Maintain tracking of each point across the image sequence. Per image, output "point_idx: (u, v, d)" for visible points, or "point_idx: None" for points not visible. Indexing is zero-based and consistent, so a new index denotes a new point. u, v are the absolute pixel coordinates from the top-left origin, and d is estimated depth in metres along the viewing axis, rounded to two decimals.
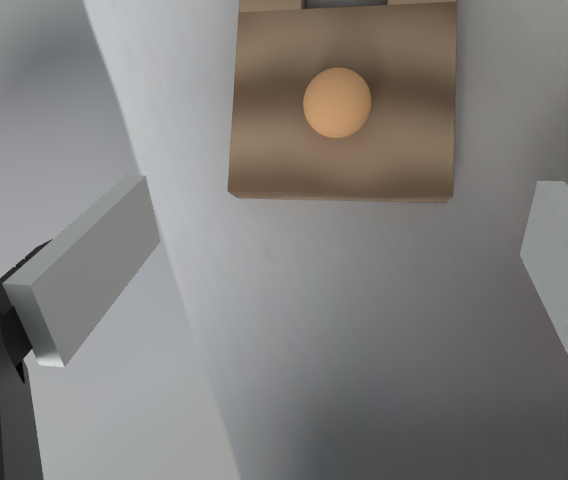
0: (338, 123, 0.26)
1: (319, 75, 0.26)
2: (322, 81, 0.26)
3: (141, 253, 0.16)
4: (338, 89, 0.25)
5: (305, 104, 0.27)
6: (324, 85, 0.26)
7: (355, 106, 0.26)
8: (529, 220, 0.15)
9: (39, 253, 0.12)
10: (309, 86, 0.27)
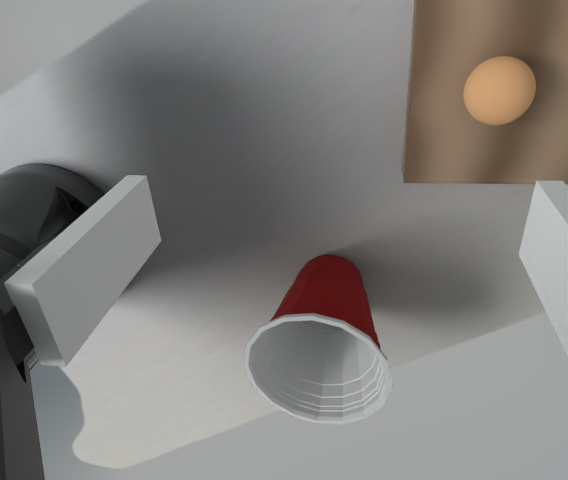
0: (473, 100, 0.28)
1: (528, 78, 0.26)
2: (519, 85, 0.26)
3: (142, 253, 0.16)
4: (506, 102, 0.27)
5: (500, 64, 0.27)
6: (514, 88, 0.26)
7: (487, 116, 0.28)
8: (528, 220, 0.15)
9: (40, 252, 0.12)
10: (519, 68, 0.26)
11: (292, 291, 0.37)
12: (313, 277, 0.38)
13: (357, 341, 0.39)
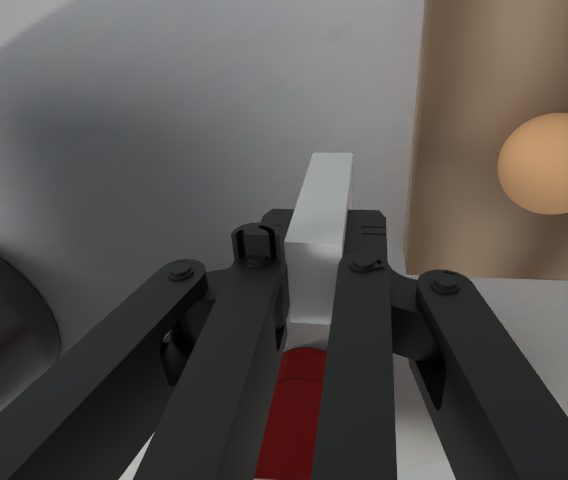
0: (516, 181, 0.18)
1: None
2: None
3: None
4: None
5: (561, 128, 0.17)
6: None
7: (537, 206, 0.18)
8: None
9: (294, 217, 0.13)
10: None
11: None
12: (284, 391, 0.28)
13: None
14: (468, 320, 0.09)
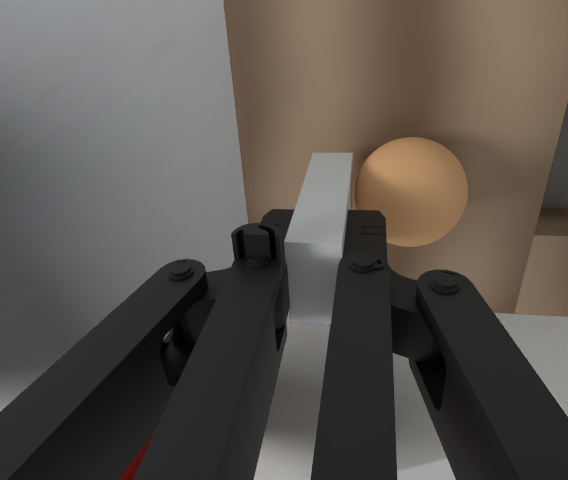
0: (407, 223, 0.16)
1: (462, 167, 0.16)
2: (464, 182, 0.16)
3: None
4: (456, 213, 0.16)
5: (428, 155, 0.15)
6: (462, 189, 0.16)
7: (427, 240, 0.16)
8: None
9: (294, 217, 0.13)
10: (450, 155, 0.16)
11: None
12: None
13: None
14: (468, 320, 0.09)
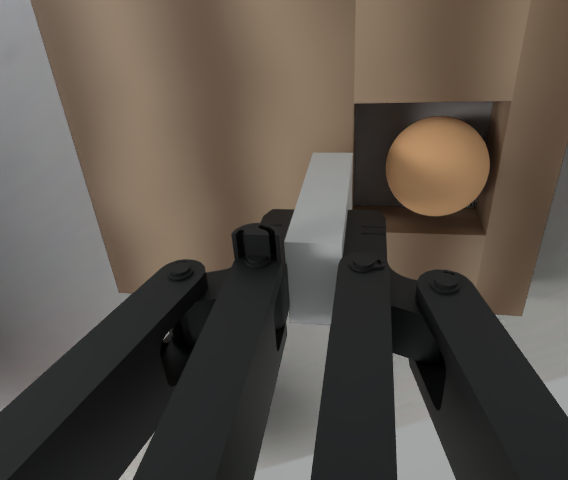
0: None
1: (449, 160, 0.17)
2: (429, 167, 0.17)
3: None
4: (410, 187, 0.18)
5: (420, 128, 0.18)
6: (420, 169, 0.17)
7: (398, 199, 0.19)
8: None
9: (294, 217, 0.13)
10: (440, 140, 0.17)
11: None
12: None
13: None
14: (469, 320, 0.09)
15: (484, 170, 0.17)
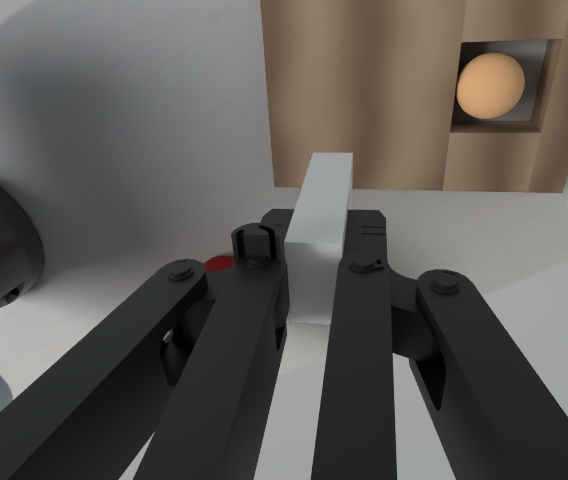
0: None
1: (481, 76, 0.28)
2: (469, 79, 0.28)
3: None
4: (459, 92, 0.29)
5: (477, 57, 0.29)
6: (465, 80, 0.29)
7: (459, 103, 0.30)
8: None
9: (294, 217, 0.13)
10: (481, 64, 0.28)
11: None
12: None
13: None
14: (468, 320, 0.09)
15: (507, 87, 0.27)
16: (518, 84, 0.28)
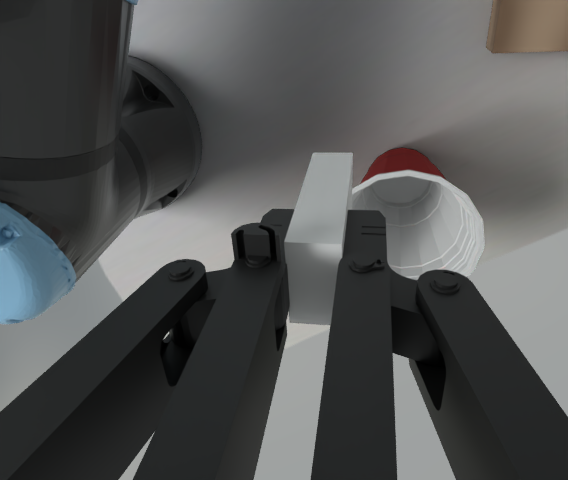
0: None
1: None
2: None
3: None
4: None
5: None
6: None
7: None
8: None
9: (294, 217, 0.13)
10: None
11: (372, 171, 0.37)
12: (393, 158, 0.37)
13: (433, 228, 0.39)
14: (468, 320, 0.09)
15: None
16: None
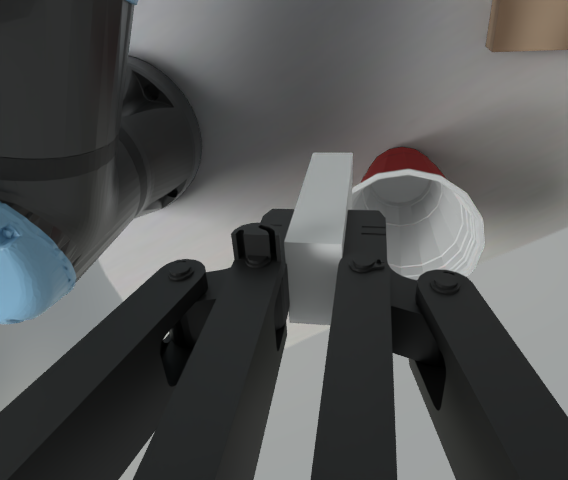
0: None
1: None
2: None
3: None
4: None
5: None
6: None
7: None
8: None
9: (294, 217, 0.13)
10: None
11: (372, 170, 0.37)
12: (393, 157, 0.37)
13: (433, 228, 0.39)
14: (468, 320, 0.09)
15: None
16: None
